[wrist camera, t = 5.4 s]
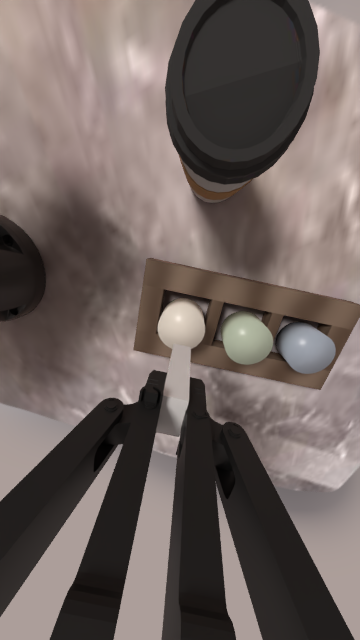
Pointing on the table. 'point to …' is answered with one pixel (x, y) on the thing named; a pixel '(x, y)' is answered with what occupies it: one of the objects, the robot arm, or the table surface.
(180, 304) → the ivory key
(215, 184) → the coffee cup
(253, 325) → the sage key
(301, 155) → the table surface
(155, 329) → the wooden tray
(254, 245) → the table surface
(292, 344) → the pale blue rounded knob
